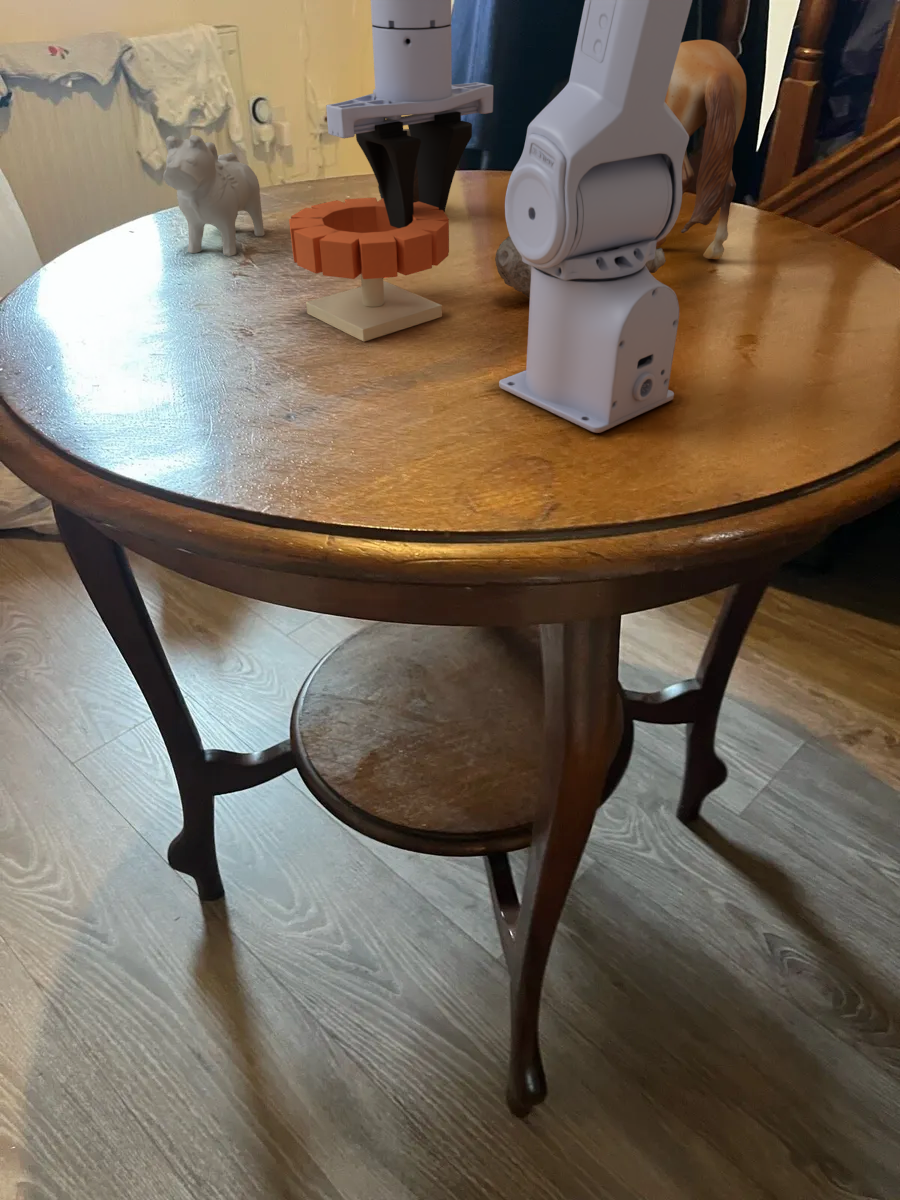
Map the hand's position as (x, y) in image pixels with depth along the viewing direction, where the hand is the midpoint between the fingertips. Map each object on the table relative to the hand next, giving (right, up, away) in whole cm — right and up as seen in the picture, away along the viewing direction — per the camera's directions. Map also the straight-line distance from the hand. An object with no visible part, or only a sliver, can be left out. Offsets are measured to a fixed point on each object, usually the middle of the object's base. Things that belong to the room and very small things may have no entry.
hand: (417, 223), depth 73 cm
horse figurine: (+21, +6, +18) cm, 28 cm away
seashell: (+14, -4, +5) cm, 15 cm away
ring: (-4, -3, -1) cm, 5 cm away
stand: (-4, -7, +2) cm, 8 cm away
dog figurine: (-20, +5, +17) cm, 26 cm away
